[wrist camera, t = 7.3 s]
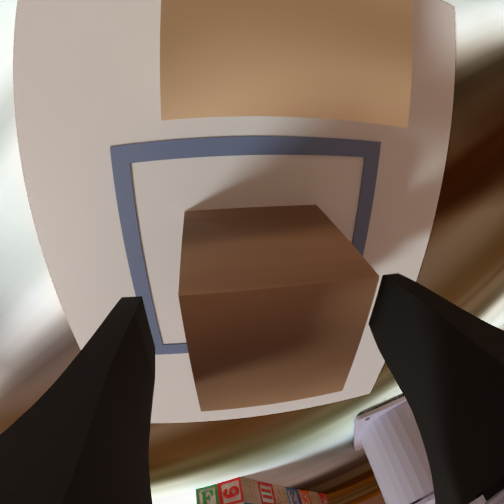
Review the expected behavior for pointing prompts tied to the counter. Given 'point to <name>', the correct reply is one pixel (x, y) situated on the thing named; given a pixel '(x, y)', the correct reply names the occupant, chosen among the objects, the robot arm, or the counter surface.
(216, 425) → the counter surface
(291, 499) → the stack of blocks
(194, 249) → the walnut block
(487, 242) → the counter surface
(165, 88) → the maple block
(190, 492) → the counter surface
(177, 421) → the board
